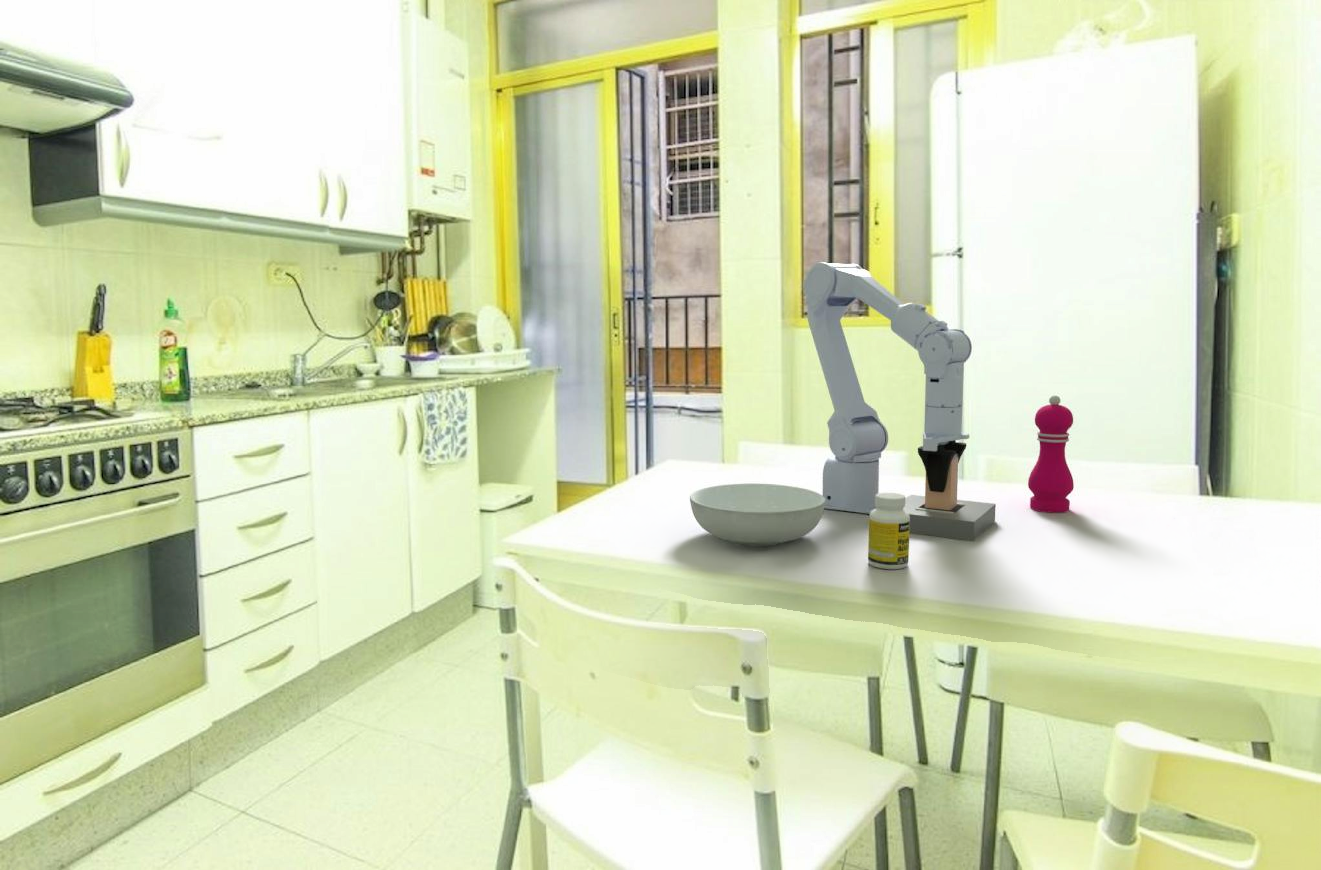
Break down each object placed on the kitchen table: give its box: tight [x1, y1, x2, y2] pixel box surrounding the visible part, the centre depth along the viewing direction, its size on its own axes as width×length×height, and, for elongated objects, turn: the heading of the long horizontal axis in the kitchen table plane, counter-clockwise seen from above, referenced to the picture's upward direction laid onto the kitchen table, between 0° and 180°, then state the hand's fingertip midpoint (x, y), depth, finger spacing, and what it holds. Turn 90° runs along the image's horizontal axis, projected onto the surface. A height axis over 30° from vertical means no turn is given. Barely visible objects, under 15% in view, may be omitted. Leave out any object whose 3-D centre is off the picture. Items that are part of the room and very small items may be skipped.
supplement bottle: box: [867, 492, 910, 570], centre depth 112 cm, size 5×5×10 cm
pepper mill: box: [1027, 395, 1074, 514], centre depth 141 cm, size 7×7×20 cm
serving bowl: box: [689, 483, 826, 547], centre depth 127 cm, size 21×21×7 cm
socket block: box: [903, 494, 997, 542], centre depth 133 cm, size 14×14×3 cm
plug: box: [924, 453, 959, 510], centre depth 132 cm, size 4×4×9 cm
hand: (941, 488), depth 132 cm, fingers closed on plug, 4 cm apart
